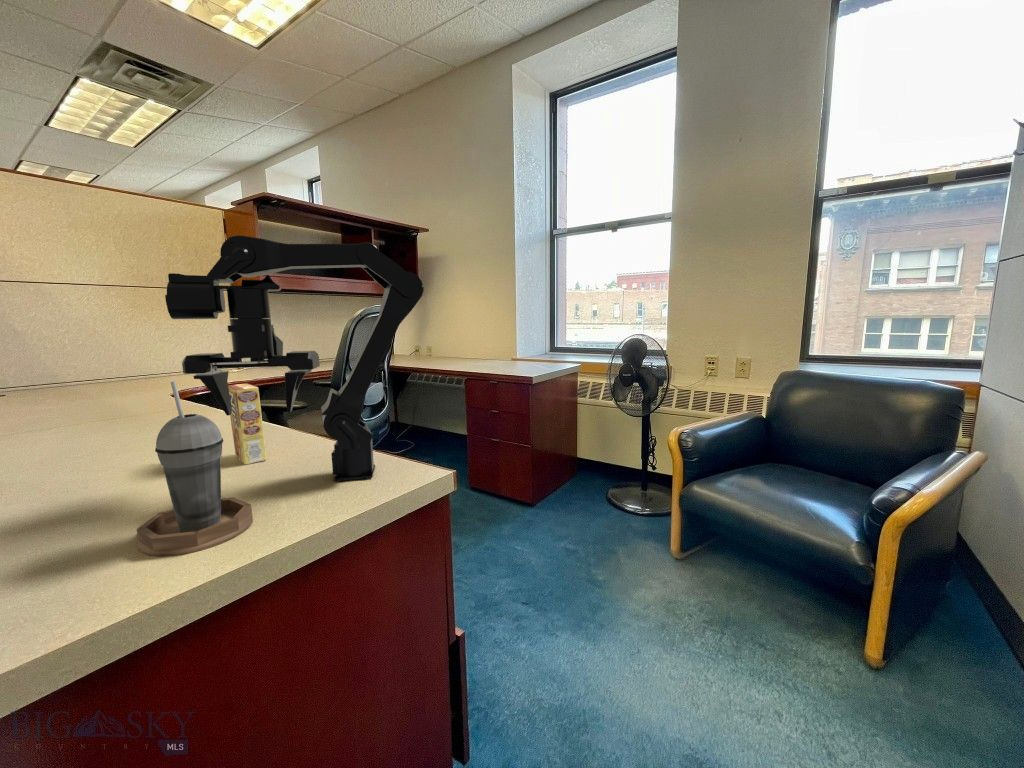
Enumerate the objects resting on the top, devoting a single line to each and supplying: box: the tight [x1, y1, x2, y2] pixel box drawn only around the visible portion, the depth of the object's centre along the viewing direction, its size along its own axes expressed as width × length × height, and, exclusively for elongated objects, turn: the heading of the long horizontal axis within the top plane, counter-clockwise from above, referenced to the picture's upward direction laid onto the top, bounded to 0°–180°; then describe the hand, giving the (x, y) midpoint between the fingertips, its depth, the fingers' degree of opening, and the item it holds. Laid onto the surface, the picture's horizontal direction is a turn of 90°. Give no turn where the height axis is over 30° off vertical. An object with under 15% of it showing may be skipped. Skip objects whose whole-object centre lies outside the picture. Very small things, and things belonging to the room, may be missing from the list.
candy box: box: [228, 383, 267, 465], centre depth 90 cm, size 9×4×15 cm, turn 44°
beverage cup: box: [154, 380, 224, 533], centre depth 57 cm, size 7×7×20 cm
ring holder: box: [136, 497, 254, 557], centre depth 59 cm, size 13×13×2 cm
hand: (260, 413), depth 72 cm, fingers open, 9 cm apart
